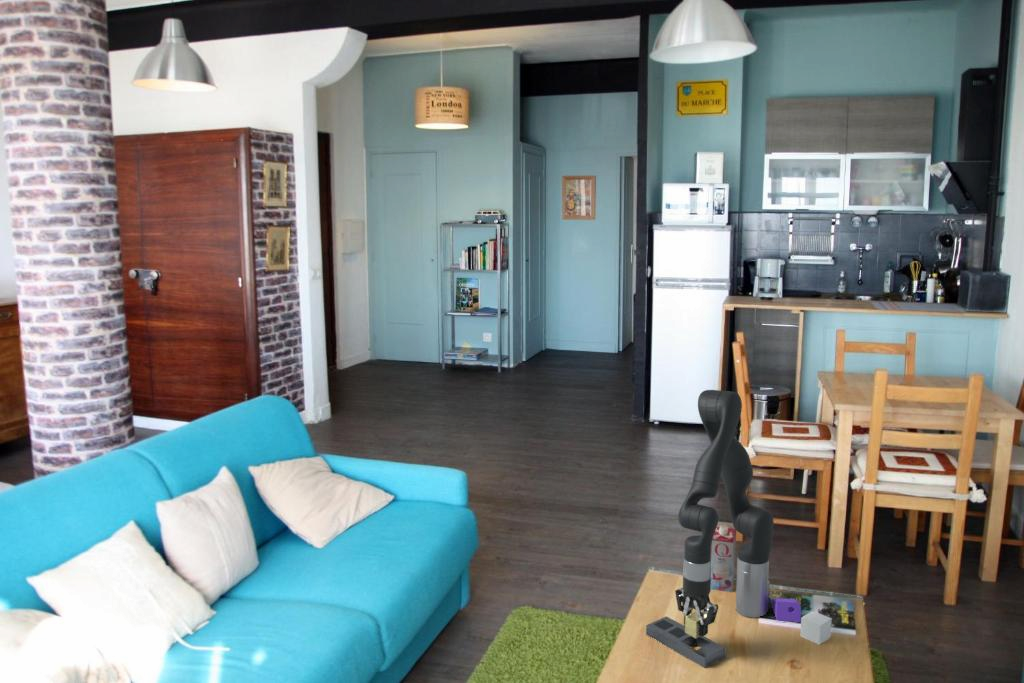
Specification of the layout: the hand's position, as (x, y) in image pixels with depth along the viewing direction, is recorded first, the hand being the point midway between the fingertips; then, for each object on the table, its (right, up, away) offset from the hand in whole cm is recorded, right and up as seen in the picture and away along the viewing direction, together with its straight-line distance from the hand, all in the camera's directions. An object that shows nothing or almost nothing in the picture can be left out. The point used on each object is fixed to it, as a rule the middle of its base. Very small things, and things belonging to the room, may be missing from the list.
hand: (695, 631), depth 236 cm
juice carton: (+17, +1, +39) cm, 43 cm away
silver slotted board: (-2, -6, +4) cm, 7 cm away
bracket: (+32, -2, +22) cm, 39 cm away
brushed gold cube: (0, -1, 0) cm, 1 cm away
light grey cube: (+36, -5, +8) cm, 37 cm away
